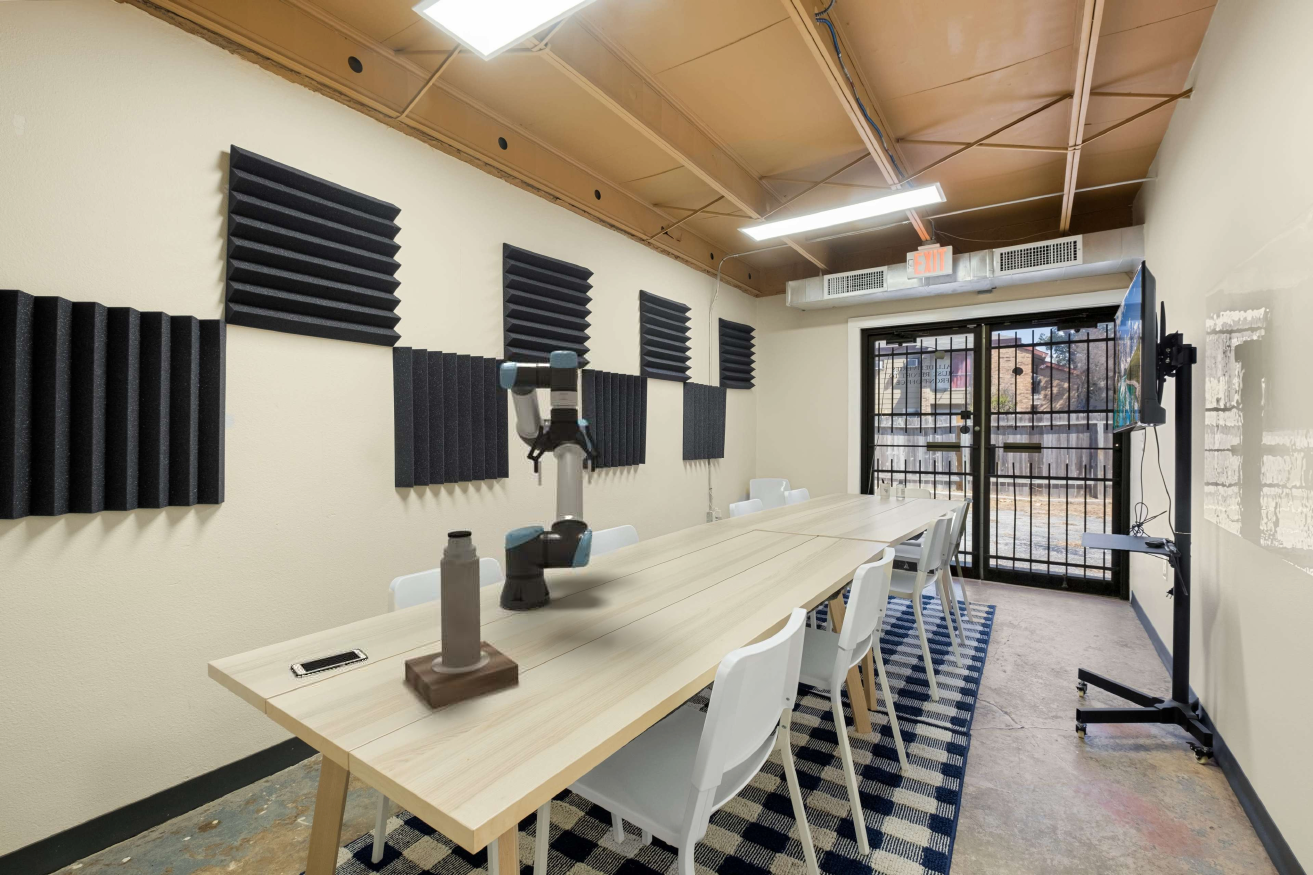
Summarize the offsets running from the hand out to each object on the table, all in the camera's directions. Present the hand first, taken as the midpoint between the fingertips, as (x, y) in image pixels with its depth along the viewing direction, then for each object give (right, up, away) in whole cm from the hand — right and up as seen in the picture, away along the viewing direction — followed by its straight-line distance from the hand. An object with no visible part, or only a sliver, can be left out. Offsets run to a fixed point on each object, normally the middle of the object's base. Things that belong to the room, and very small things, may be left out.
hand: (565, 484), depth 160 cm
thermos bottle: (-17, -35, -35) cm, 53 cm away
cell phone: (-51, -40, -25) cm, 69 cm away
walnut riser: (-17, -40, -35) cm, 56 cm away
